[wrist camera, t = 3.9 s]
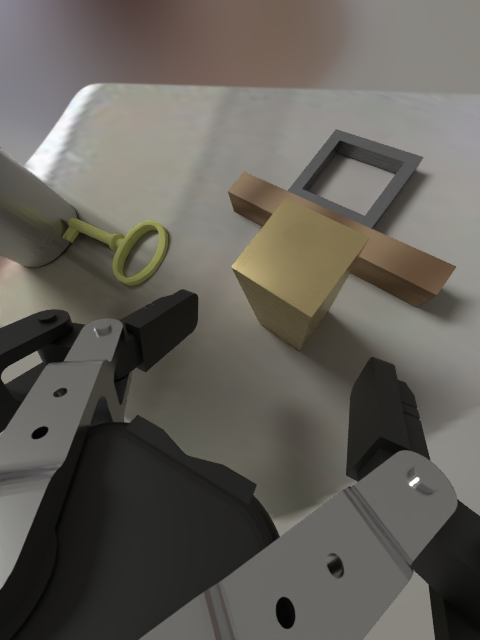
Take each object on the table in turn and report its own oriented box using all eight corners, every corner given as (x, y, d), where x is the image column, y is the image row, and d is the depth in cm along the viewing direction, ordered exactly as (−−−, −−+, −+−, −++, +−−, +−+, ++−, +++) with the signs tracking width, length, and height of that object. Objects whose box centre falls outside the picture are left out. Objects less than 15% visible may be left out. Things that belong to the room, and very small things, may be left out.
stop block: (259, 322, 19) (231, 267, 10) (287, 286, 20) (285, 198, 10) (299, 350, 18) (311, 317, 9) (328, 311, 18) (370, 237, 9)
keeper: (286, 202, 22) (286, 192, 21) (333, 142, 22) (336, 129, 21) (364, 239, 19) (369, 230, 18) (415, 169, 20) (423, 157, 19)
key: (82, 227, 27) (66, 215, 25) (175, 227, 24) (165, 213, 22) (63, 282, 26) (44, 274, 24) (160, 290, 23) (147, 281, 21)
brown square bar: (234, 211, 23) (227, 191, 20) (248, 193, 23) (243, 171, 21) (416, 307, 17) (436, 295, 15) (433, 282, 17) (456, 266, 15)
